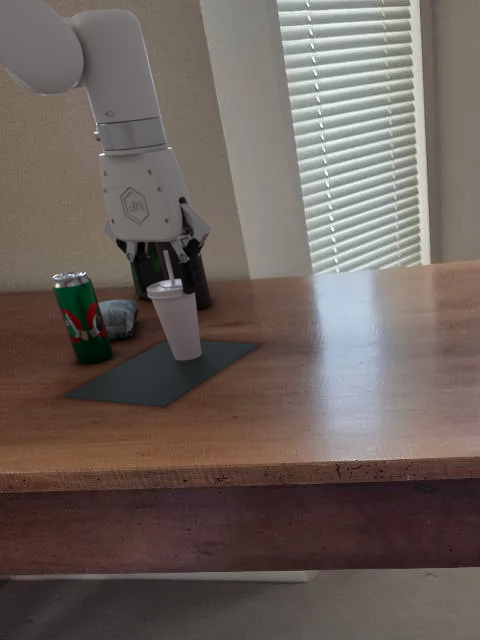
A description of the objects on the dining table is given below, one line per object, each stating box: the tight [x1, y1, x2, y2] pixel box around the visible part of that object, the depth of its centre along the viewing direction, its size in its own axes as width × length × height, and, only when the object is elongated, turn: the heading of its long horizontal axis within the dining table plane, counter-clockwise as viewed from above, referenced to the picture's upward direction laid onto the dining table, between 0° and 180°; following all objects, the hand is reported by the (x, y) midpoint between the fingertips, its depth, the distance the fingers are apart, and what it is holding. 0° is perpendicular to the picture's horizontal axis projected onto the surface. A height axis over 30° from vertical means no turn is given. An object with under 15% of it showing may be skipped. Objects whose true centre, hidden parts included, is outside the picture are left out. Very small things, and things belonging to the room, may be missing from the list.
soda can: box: [51, 270, 115, 365], centre depth 101 cm, size 5×5×12 cm
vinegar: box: [155, 232, 212, 311], centre depth 119 cm, size 7×7×20 cm
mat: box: [62, 339, 260, 408], centre depth 98 cm, size 16×22×1 cm
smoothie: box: [147, 250, 201, 360], centre depth 98 cm, size 6×6×14 cm
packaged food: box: [98, 298, 139, 341], centre depth 113 cm, size 9×12×5 cm
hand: (171, 289), depth 97 cm, fingers closed on smoothie, 6 cm apart
